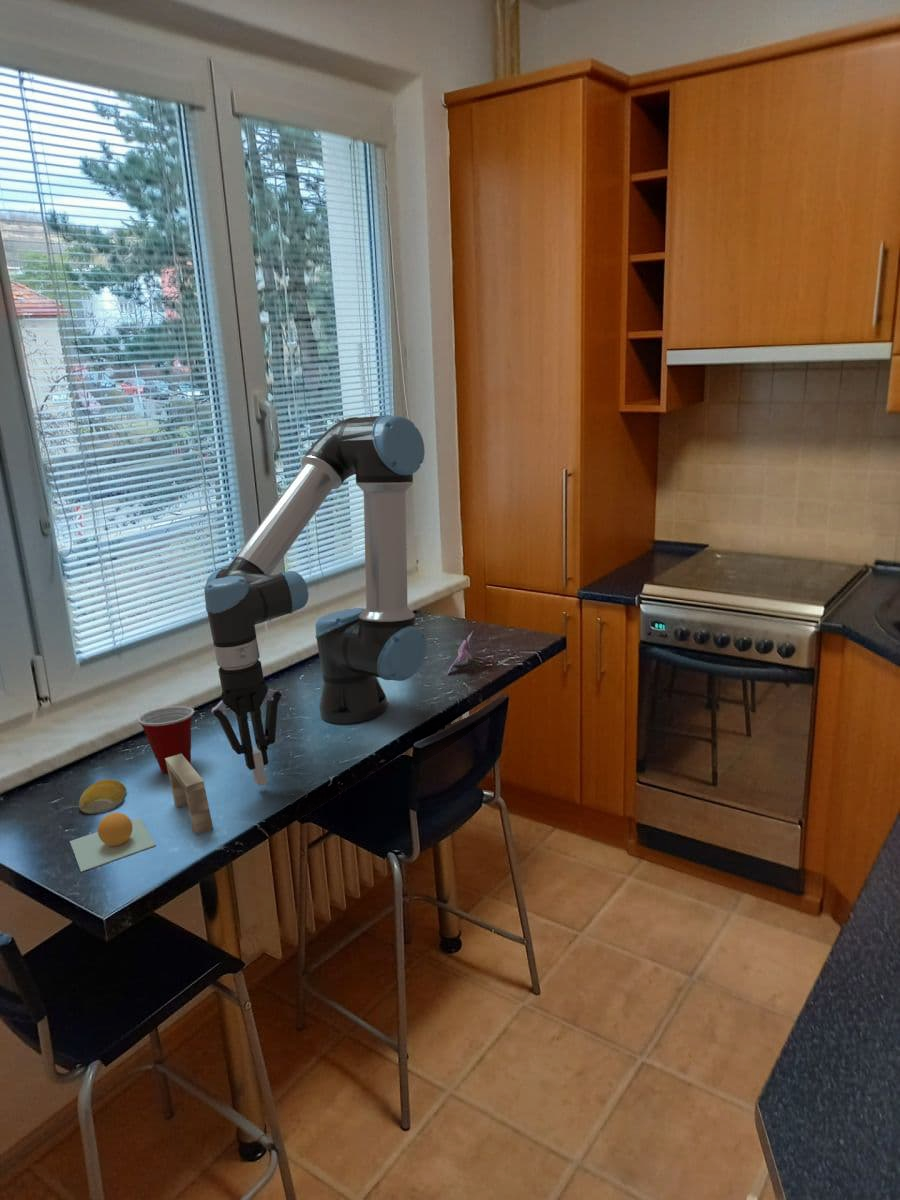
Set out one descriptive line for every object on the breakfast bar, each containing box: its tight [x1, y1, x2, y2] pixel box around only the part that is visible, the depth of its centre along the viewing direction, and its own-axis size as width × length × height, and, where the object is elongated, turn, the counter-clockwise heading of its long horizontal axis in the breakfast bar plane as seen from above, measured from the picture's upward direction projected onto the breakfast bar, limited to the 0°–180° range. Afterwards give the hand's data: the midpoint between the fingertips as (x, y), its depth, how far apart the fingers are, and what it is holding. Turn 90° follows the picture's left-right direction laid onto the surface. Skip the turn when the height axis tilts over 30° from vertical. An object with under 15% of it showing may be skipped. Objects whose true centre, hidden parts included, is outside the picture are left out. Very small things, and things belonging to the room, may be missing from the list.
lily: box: [446, 630, 481, 676], centre depth 212 cm, size 12×12×10 cm
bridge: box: [165, 753, 214, 836], centre depth 153 cm, size 3×14×9 cm, turn 32°
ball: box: [97, 812, 132, 846], centre depth 147 cm, size 6×6×6 cm
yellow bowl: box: [78, 779, 127, 815], centre depth 163 cm, size 8×9×4 cm
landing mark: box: [69, 817, 157, 873], centre depth 147 cm, size 12×12×1 cm
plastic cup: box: [137, 705, 195, 775], centre depth 173 cm, size 11×11×12 cm
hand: (260, 782), depth 160 cm, fingers closed
